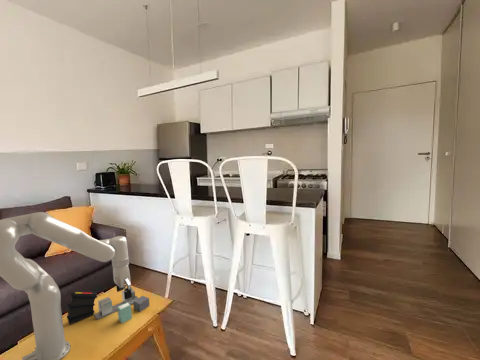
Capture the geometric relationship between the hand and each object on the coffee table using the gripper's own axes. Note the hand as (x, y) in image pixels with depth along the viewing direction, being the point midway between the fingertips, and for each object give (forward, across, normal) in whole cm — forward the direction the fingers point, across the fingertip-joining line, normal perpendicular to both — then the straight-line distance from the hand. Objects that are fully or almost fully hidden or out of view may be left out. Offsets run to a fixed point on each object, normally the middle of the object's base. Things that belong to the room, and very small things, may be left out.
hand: (124, 294), depth 127 cm
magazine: (+13, -17, -15) cm, 26 cm away
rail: (+13, -12, 0) cm, 18 cm away
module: (+13, 0, -1) cm, 13 cm away
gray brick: (+13, -3, +9) cm, 16 cm away
